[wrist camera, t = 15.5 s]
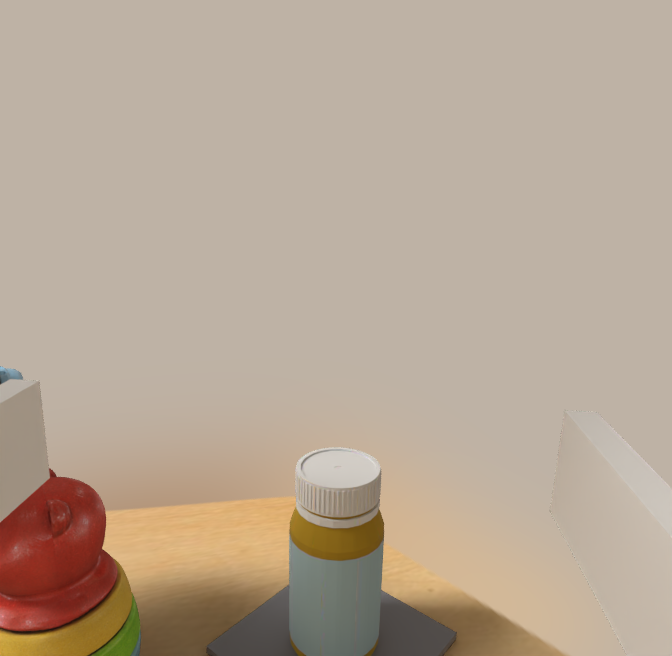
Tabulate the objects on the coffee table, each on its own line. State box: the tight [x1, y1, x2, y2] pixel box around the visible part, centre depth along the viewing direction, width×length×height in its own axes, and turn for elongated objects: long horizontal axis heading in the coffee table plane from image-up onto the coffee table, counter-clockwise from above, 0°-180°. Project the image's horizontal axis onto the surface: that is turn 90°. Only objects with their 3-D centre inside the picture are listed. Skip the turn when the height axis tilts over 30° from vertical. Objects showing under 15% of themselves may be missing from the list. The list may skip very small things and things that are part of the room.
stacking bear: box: [0, 469, 141, 656], centre depth 34 cm, size 11×10×18 cm
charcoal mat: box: [207, 585, 456, 656], centre depth 44 cm, size 14×14×1 cm
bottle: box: [289, 447, 384, 656], centre depth 42 cm, size 7×7×15 cm
